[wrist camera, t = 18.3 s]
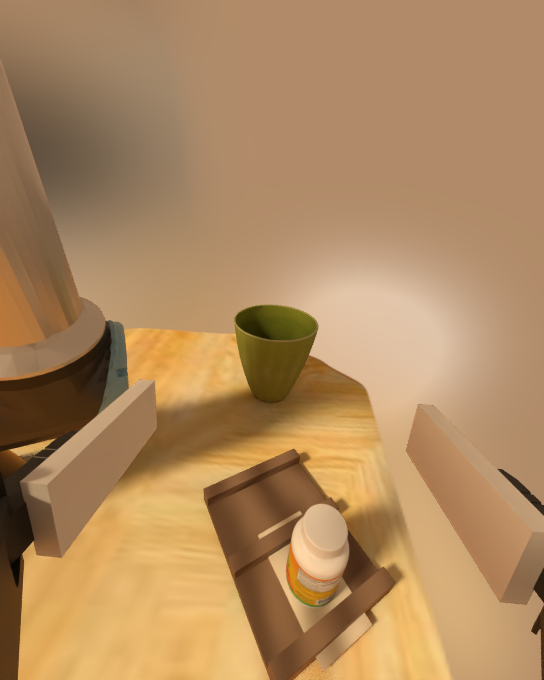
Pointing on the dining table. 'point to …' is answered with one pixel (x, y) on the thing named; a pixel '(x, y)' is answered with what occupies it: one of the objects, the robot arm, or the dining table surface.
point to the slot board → (270, 567)
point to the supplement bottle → (317, 556)
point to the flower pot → (273, 347)
